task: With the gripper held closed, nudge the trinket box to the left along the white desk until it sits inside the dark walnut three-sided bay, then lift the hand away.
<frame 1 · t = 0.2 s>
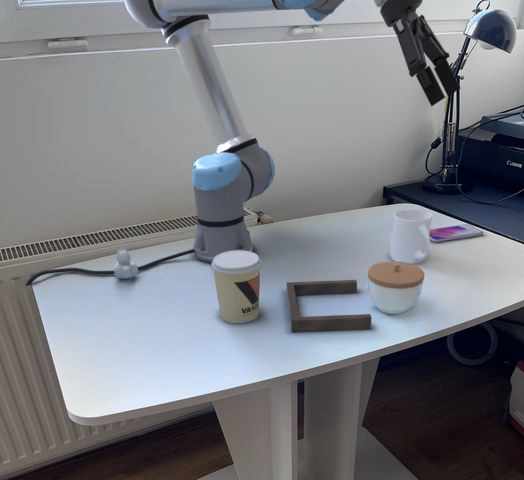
hand: (446, 97, 103), 36 cm above the table, tool tilted 35°, fingers open, 13 cm apart
trinket box: (392, 307, 104), on the table
mug: (411, 261, 123), on the table
grey lumpy figure: (127, 279, 120), on the table
smartphone: (451, 235, 137), on the table
bay: (328, 309, 104), on the table
coffee cup: (239, 315, 103), on the table
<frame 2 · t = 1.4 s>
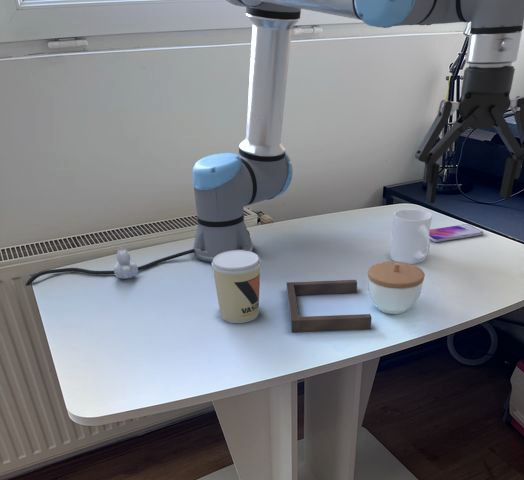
hand: (467, 199, 92), 21 cm above the table, tool pointing down, fingers open, 13 cm apart
nothing on the table moved.
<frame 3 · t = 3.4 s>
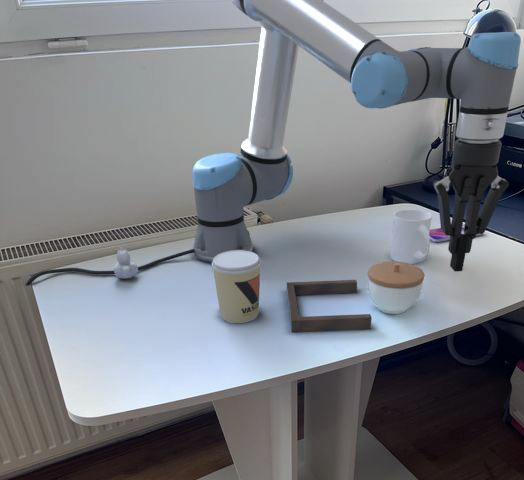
hand: (456, 268, 99), 8 cm above the table, tool pointing down, fingers closed
nothing on the table moved.
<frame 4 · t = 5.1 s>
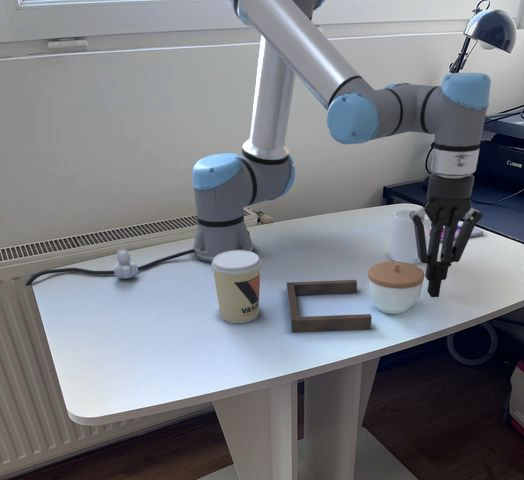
hand: (432, 294, 102), 3 cm above the table, tool pointing down, fingers closed
trinket box: (392, 307, 104), on the table, touching gripper
everything else where it was.
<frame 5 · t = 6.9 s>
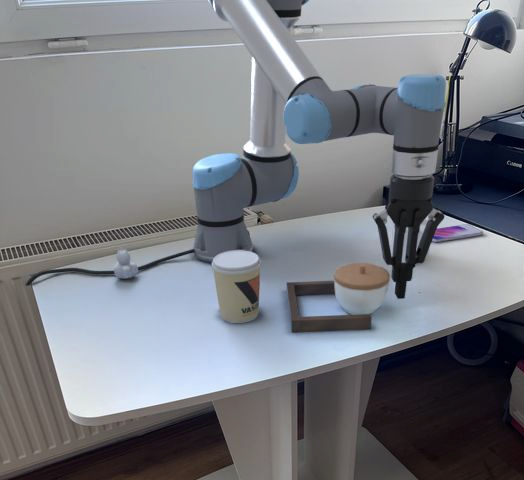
hand: (399, 295, 102), 3 cm above the table, tool pointing down, fingers closed
trinket box: (359, 309, 104), on the table, touching gripper
everything else where it was.
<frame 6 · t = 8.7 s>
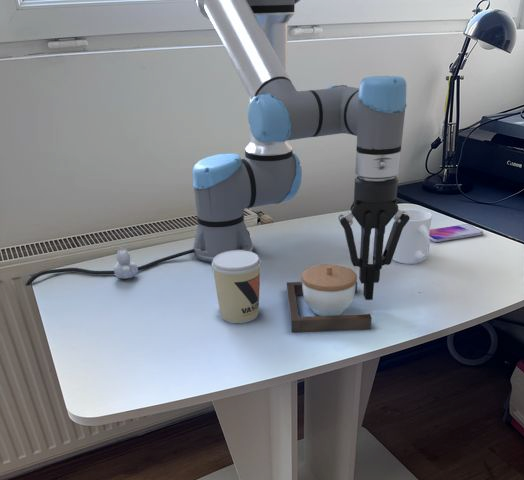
hand: (367, 296, 102), 3 cm above the table, tool pointing down, fingers closed
trinket box: (327, 310, 104), on the table, touching gripper
everything else where it was.
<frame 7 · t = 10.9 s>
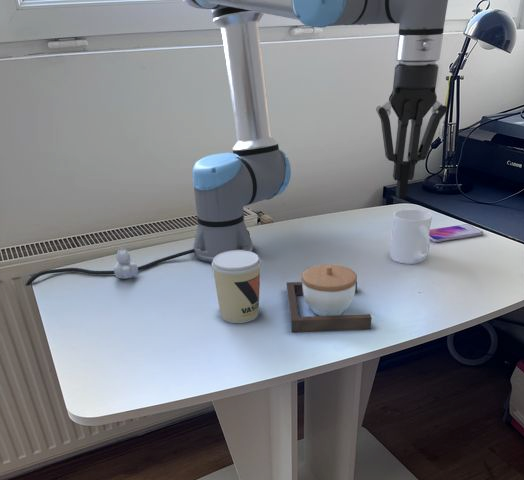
hand: (400, 196, 103), 19 cm above the table, tool pointing down, fingers closed
trinket box: (327, 310, 104), on the table
everything else where it was.
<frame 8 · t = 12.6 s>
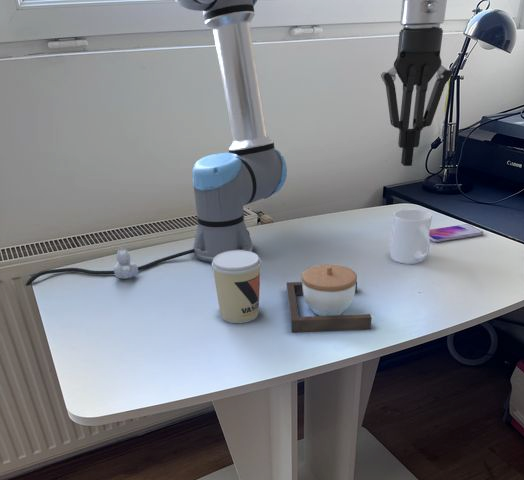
hand: (406, 164, 103), 24 cm above the table, tool pointing down, fingers closed
nothing on the table moved.
at the end: trinket box 0.6 cm from the target spot, on the table; trinket box tilted 0° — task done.
